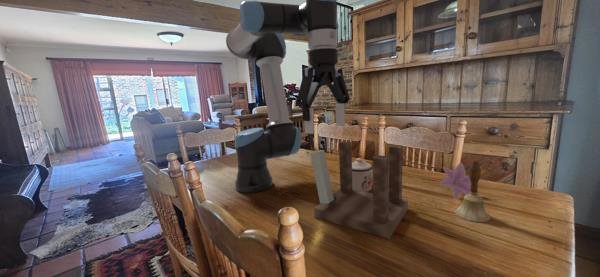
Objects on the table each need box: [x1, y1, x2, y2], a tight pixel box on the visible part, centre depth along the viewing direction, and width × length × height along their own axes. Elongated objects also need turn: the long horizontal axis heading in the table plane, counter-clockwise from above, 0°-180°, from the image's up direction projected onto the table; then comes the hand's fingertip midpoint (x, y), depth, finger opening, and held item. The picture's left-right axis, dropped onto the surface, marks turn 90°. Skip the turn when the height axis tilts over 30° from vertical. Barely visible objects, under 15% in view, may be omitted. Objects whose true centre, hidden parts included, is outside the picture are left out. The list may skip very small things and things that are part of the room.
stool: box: [313, 140, 409, 240], centre depth 74 cm, size 22×18×20 cm
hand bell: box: [454, 159, 492, 223], centre depth 70 cm, size 8×8×16 cm
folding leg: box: [309, 149, 334, 204], centre depth 74 cm, size 3×3×15 cm
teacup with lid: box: [352, 157, 373, 193], centre depth 95 cm, size 12×9×12 cm
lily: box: [439, 162, 471, 200], centre depth 85 cm, size 12×12×10 cm
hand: (326, 129), depth 71 cm, fingers open, 13 cm apart
